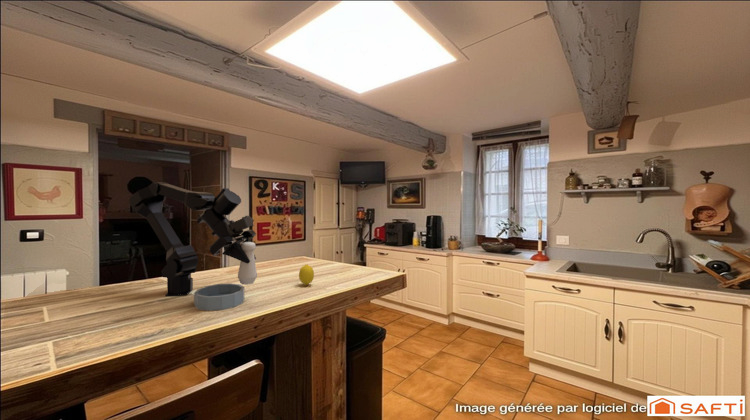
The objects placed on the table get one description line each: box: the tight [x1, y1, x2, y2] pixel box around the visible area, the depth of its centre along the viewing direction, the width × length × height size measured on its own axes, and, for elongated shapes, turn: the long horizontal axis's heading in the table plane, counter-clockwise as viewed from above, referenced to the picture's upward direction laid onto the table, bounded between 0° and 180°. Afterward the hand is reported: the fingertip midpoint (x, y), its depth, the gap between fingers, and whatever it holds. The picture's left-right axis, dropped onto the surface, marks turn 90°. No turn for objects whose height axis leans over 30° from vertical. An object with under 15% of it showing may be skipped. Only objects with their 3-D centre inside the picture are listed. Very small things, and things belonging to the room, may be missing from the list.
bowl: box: [193, 282, 245, 312], centre depth 99 cm, size 14×14×4 cm
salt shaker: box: [237, 241, 258, 286], centre depth 101 cm, size 6×6×13 cm
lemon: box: [298, 263, 315, 286], centre depth 119 cm, size 6×6×8 cm
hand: (251, 261), depth 100 cm, fingers closed on salt shaker, 3 cm apart
